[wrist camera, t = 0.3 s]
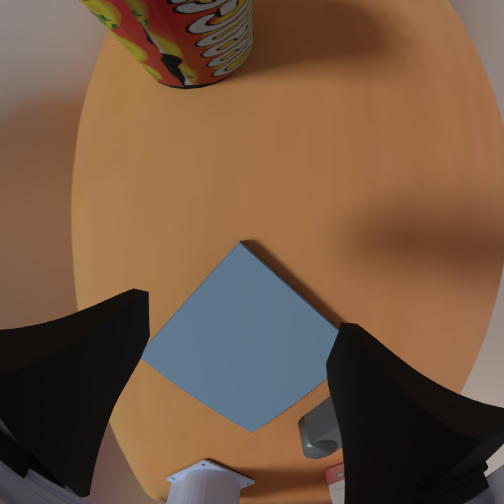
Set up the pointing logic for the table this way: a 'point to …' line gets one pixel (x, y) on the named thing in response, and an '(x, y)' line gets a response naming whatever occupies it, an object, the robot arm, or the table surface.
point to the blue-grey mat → (244, 342)
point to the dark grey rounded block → (320, 431)
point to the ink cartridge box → (336, 483)
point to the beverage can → (181, 36)
